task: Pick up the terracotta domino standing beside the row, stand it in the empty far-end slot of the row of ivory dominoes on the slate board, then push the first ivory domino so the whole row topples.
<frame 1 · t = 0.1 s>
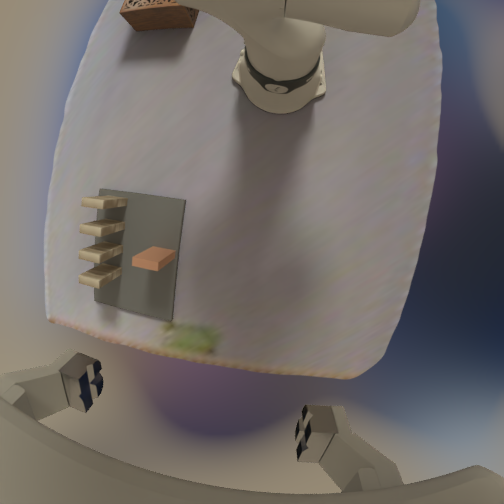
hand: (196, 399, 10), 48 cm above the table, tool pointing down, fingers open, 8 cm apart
domino 4: (112, 268, 59), point 1 cm above the table, touching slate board
domino 2: (115, 223, 57), point 1 cm above the table, touching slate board
end domino: (163, 252, 57), point 1 cm above the table, touching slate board
domino 1: (117, 200, 55), point 1 cm above the table, touching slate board
domino 3: (113, 246, 58), point 1 cm above the table, touching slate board
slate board: (134, 254, 59), on the table
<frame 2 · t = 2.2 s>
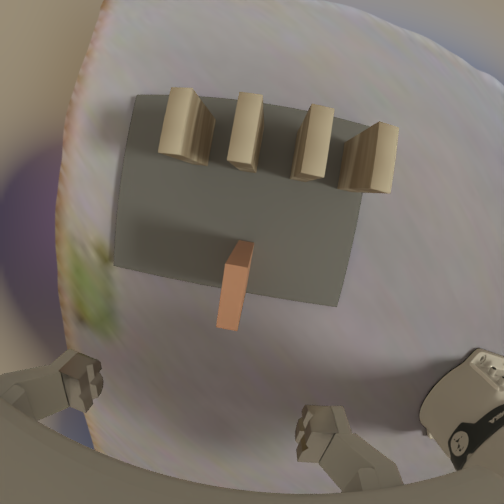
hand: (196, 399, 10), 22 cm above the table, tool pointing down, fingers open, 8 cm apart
domino 4: (204, 141, 28), point 1 cm above the table, touching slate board
domino 2: (301, 156, 28), point 1 cm above the table, touching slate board
end domino: (242, 264, 30), point 1 cm above the table, touching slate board
domino 1: (348, 167, 28), point 1 cm above the table, touching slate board
domino 3: (252, 148, 28), point 1 cm above the table, touching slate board
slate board: (235, 194, 30), on the table
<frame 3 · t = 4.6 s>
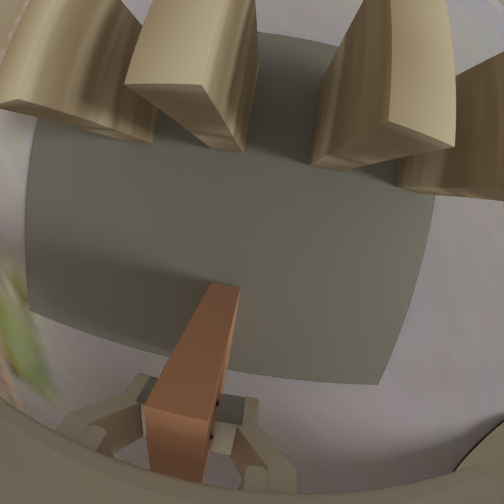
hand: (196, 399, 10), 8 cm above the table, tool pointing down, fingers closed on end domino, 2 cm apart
domino 4: (148, 100, 14), point 1 cm above the table, touching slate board
domino 2: (330, 123, 14), point 1 cm above the table, touching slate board
end domino: (220, 325, 16), point 1 cm above the table, touching gripper, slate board
domino 1: (413, 148, 14), point 1 cm above the table, touching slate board
domino 3: (236, 106, 14), point 1 cm above the table, touching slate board
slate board: (205, 195, 16), on the table
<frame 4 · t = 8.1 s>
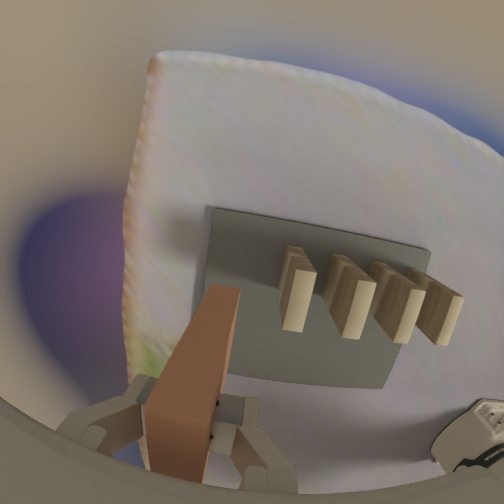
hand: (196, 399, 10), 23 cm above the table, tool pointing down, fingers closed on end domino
domino 4: (289, 268, 31), point 1 cm above the table, touching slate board
domino 2: (373, 282, 31), point 1 cm above the table, touching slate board
end domino: (220, 326, 16), point 17 cm above the table, touching gripper
domino 1: (407, 288, 31), point 1 cm above the table, touching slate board
domino 3: (333, 275, 31), point 1 cm above the table, touching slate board
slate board: (313, 312, 33), on the table
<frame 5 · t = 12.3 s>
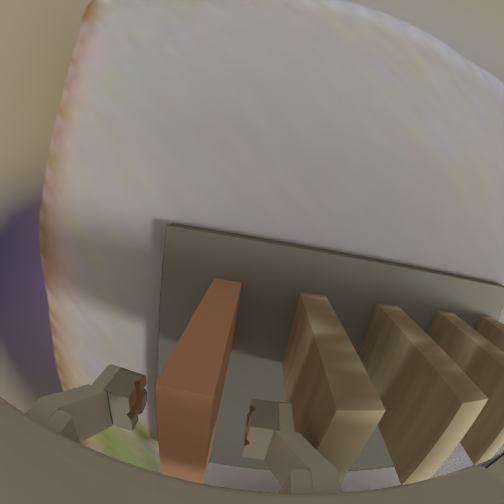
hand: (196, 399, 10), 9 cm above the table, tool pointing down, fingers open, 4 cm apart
domino 4: (303, 331, 17), point 1 cm above the table, touching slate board
domino 2: (432, 343, 17), point 1 cm above the table, touching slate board
end domino: (222, 319, 17), point 1 cm above the table, touching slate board
domino 1: (474, 344, 17), point 1 cm above the table, touching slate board
domino 3: (375, 339, 17), point 1 cm above the table, touching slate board
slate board: (336, 388, 19), on the table
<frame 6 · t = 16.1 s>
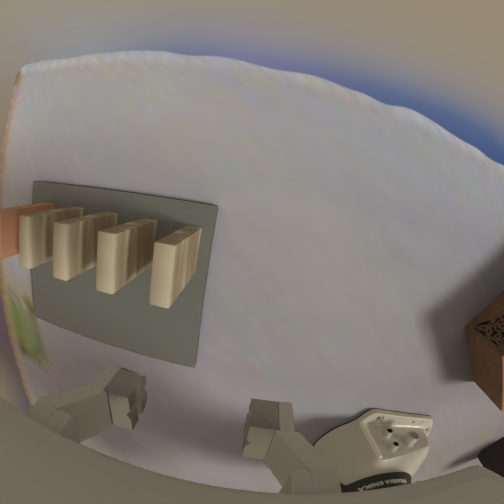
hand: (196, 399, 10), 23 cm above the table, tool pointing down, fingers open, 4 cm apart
domino 4: (77, 227, 31), point 1 cm above the table, touching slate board
black rectangular slab: (492, 446, 41), on the table
domino 2: (148, 241, 31), point 1 cm above the table, touching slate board
end domino: (50, 222, 31), point 1 cm above the table, touching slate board
domino 1: (191, 249, 31), point 1 cm above the table, touching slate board
domino 3: (110, 233, 31), point 1 cm above the table, touching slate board
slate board: (105, 270, 33), on the table
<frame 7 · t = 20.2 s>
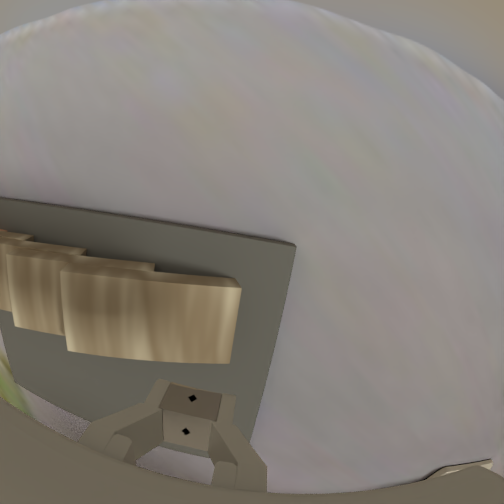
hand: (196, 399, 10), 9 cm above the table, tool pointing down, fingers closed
domino 4: (29, 269, 17), point 2 cm above the table, tilted 71°, touching domino 3, end domino
domino 2: (152, 305, 17), point 2 cm above the table, tilted 71°, touching domino 1, domino 3, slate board
domino 1: (232, 322, 17), point 2 cm above the table, tilted 72°, touching domino 2, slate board
domino 3: (83, 287, 17), point 2 cm above the table, tilted 71°, touching domino 2, domino 4, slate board
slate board: (101, 339, 20), on the table
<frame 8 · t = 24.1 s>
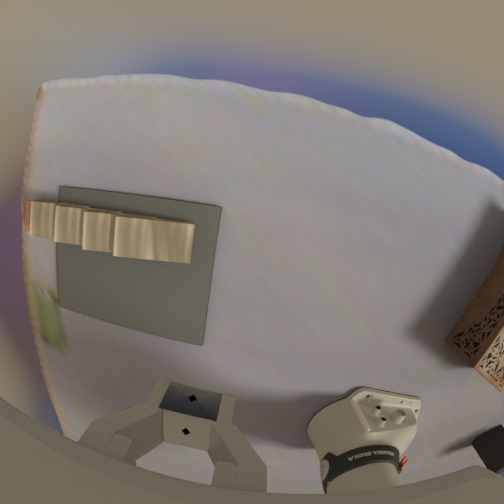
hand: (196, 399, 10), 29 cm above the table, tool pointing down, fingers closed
domino 4: (89, 224, 37), point 2 cm above the table, tilted 71°, touching domino 3, end domino
black rectangular slab: (486, 434, 46), on the table
tissue box cover: (498, 298, 38), on the table
domino 2: (155, 236, 37), point 2 cm above the table, tilted 71°, touching domino 1, domino 3, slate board
end domino: (69, 221, 37), point 2 cm above the table, tilted 90°, touching domino 4, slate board
domino 1: (191, 242, 37), point 2 cm above the table, tilted 72°, touching domino 2, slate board
domino 3: (120, 230, 37), point 2 cm above the table, tilted 71°, touching domino 2, domino 4, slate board
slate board: (125, 263, 39), on the table
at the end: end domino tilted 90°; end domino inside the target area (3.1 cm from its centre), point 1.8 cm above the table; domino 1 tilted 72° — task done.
